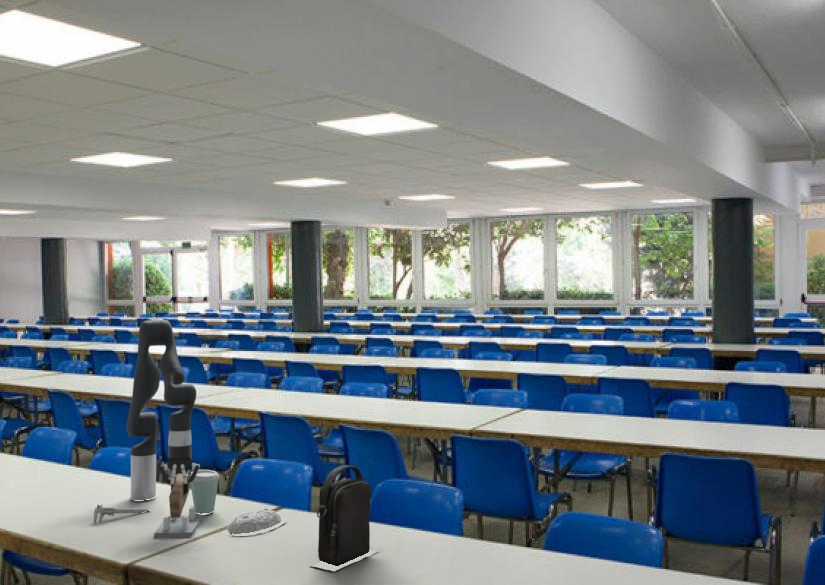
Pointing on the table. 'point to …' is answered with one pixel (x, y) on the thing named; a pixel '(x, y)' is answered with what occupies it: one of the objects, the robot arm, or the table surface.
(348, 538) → the shoulder bag
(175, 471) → the robot arm
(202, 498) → the disposable coffee cup
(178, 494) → the cabinet door
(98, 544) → the table surface
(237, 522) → the oval brooch
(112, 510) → the caliper
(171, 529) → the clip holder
